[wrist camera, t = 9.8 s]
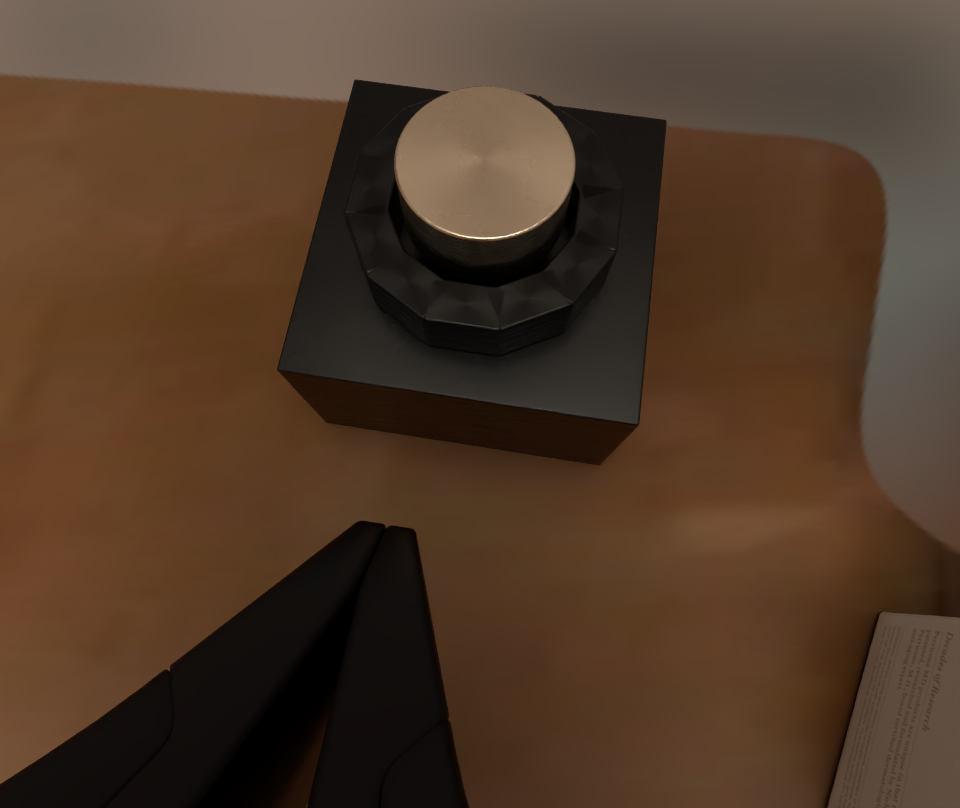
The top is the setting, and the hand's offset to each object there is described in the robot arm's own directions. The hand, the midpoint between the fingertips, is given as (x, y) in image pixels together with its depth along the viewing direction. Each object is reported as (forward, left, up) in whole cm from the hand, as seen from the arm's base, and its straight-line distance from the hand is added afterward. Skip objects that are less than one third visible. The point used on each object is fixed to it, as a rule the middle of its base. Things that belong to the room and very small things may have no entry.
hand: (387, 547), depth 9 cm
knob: (+5, +8, -5) cm, 11 cm away
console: (+5, +8, -12) cm, 16 cm away
